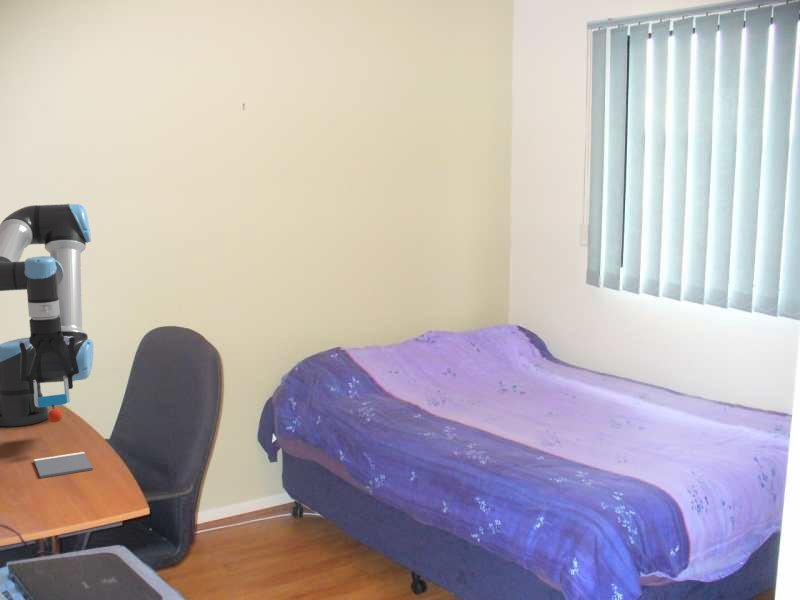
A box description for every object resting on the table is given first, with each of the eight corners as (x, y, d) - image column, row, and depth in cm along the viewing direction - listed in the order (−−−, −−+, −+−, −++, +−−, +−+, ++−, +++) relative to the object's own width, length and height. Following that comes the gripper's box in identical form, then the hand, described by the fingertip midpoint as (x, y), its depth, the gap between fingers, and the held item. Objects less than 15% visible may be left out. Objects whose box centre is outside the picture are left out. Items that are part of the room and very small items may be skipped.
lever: (38, 424, 264) (41, 424, 248) (36, 398, 265) (38, 396, 248) (65, 421, 267) (70, 420, 250) (62, 395, 267) (67, 393, 251)
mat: (34, 461, 245) (33, 459, 245) (84, 454, 250) (83, 451, 250) (40, 478, 233) (40, 475, 232) (92, 469, 238) (92, 467, 238)
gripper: (4, 323, 245) (12, 412, 249) (87, 315, 254) (93, 401, 258) (2, 318, 252) (10, 405, 256) (82, 310, 261) (89, 394, 265)
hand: (52, 403), depth 257 cm, fingers closed on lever, 7 cm apart
